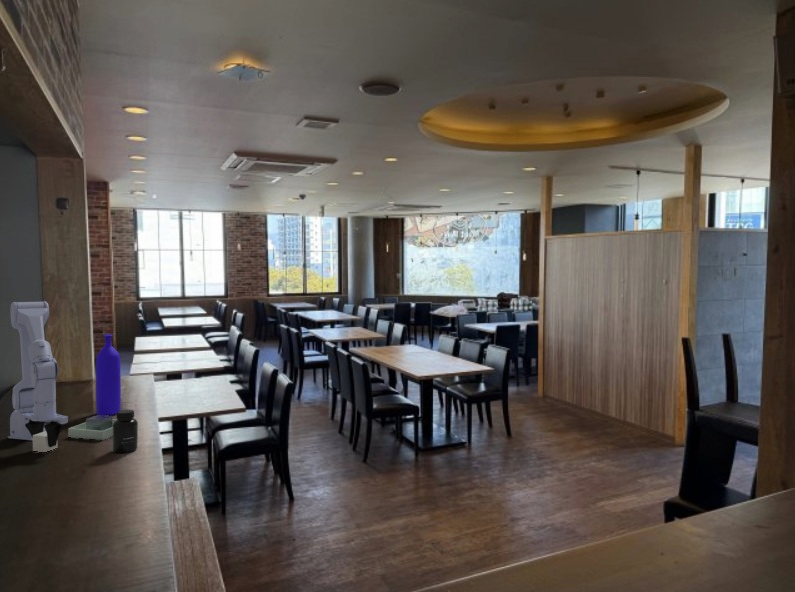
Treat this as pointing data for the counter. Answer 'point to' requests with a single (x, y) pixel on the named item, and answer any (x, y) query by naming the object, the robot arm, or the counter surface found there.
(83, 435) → the tray
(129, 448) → the supplement bottle
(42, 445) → the carton
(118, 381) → the bottle
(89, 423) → the grey square block
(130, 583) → the counter surface
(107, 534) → the counter surface
